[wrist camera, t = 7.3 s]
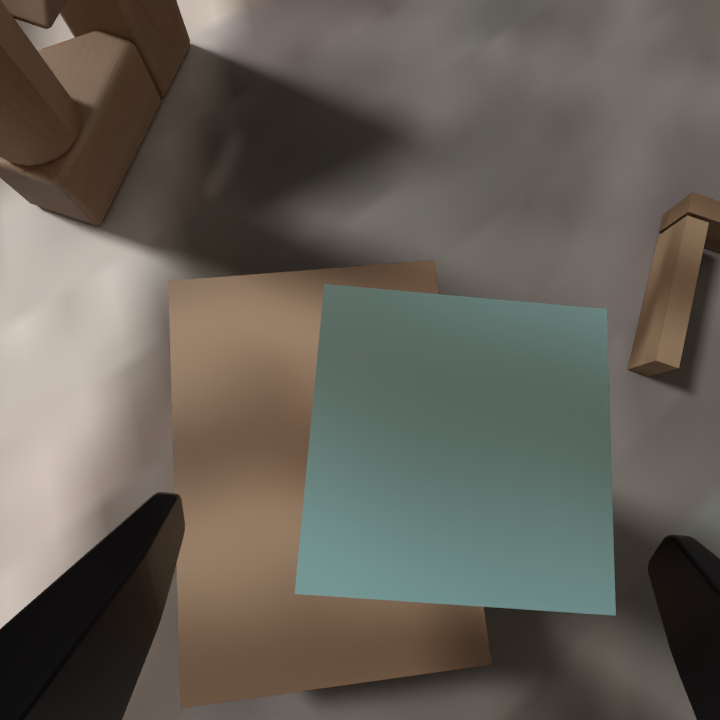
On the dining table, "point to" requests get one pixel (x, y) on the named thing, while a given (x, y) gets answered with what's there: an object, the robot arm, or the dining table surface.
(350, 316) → the teal long block
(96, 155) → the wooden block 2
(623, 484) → the dining table surface
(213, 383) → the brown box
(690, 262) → the frame
